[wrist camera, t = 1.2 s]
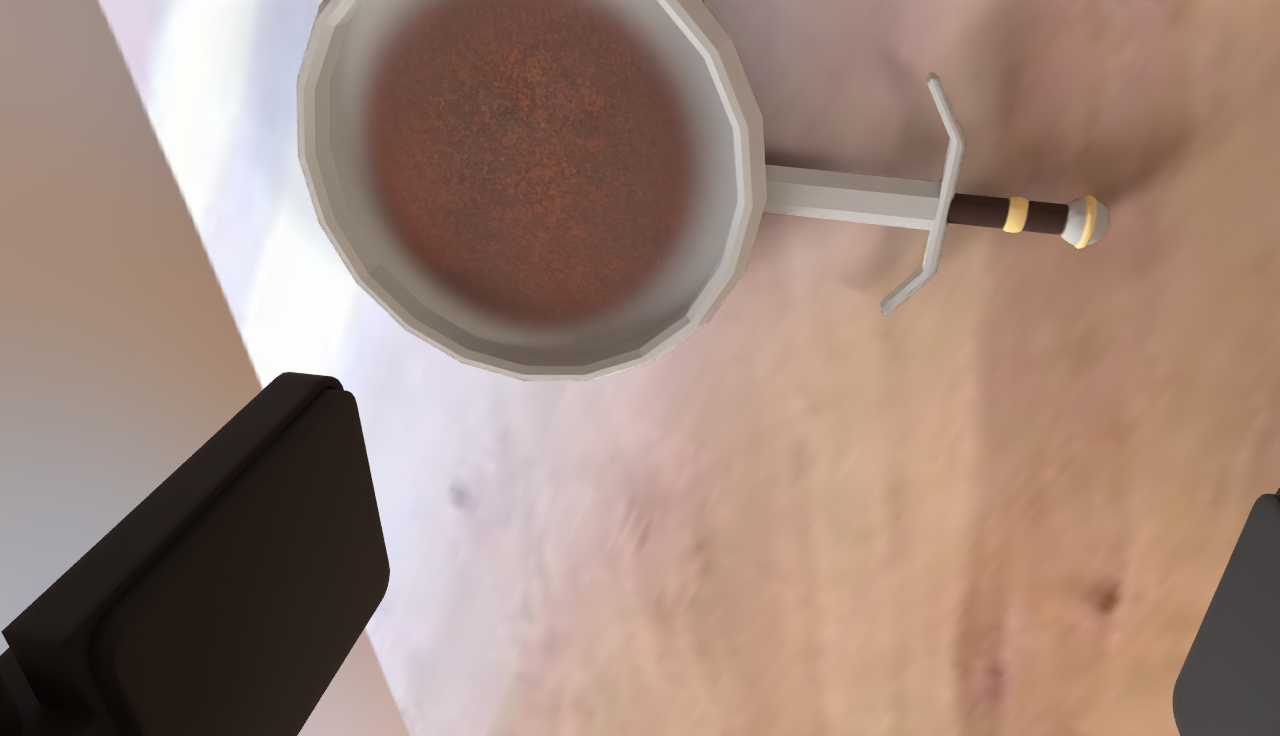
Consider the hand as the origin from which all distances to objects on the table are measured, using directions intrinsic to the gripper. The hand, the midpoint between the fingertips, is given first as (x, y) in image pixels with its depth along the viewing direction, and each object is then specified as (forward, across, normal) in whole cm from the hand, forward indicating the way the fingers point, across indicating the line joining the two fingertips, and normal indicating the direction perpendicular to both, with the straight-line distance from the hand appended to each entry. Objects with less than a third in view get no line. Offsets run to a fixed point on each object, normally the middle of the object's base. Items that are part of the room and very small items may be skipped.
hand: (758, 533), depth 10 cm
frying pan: (+23, +4, +4) cm, 24 cm away
